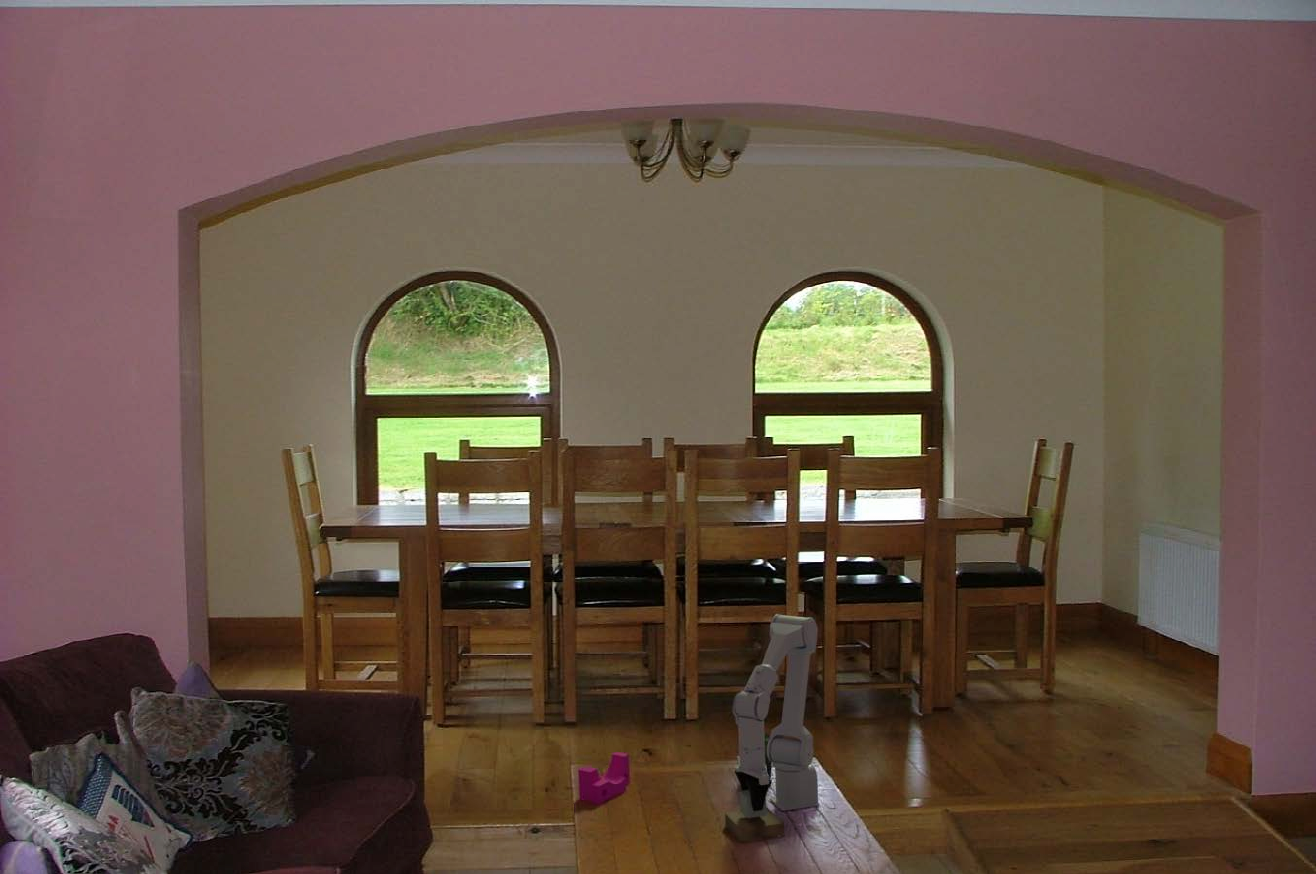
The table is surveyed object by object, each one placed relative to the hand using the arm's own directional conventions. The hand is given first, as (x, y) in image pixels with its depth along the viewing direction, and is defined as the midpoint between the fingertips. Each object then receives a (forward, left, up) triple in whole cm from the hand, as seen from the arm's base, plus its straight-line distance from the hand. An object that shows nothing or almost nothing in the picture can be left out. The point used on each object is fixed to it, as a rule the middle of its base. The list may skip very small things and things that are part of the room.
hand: (753, 806), depth 268 cm
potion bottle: (-13, -31, -6) cm, 34 cm away
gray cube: (0, 0, -2) cm, 2 cm away
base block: (0, 0, -6) cm, 6 cm away
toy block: (+24, -36, -6) cm, 44 cm away
